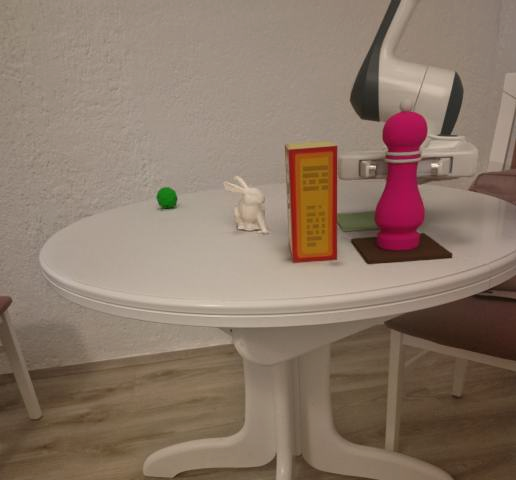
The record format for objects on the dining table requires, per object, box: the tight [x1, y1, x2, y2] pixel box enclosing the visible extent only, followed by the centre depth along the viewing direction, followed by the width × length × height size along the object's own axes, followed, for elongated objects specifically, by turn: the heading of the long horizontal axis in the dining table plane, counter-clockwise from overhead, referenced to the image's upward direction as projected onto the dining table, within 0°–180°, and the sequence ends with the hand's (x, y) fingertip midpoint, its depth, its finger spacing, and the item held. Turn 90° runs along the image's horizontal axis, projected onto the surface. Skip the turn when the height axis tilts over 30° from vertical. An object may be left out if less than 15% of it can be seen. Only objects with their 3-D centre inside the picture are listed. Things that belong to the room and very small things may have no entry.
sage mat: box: [337, 210, 380, 233], centre depth 90 cm, size 12×12×1 cm
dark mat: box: [350, 232, 453, 265], centre depth 73 cm, size 12×12×1 cm
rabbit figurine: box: [222, 175, 270, 235], centre depth 90 cm, size 12×8×10 cm, turn 5°
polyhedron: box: [156, 186, 179, 210], centre depth 116 cm, size 5×5×5 cm
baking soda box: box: [284, 140, 338, 264], centre depth 72 cm, size 10×6×16 cm
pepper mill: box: [374, 99, 428, 251], centre depth 69 cm, size 7×7×20 cm
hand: (402, 171), depth 68 cm, fingers open, 7 cm apart
